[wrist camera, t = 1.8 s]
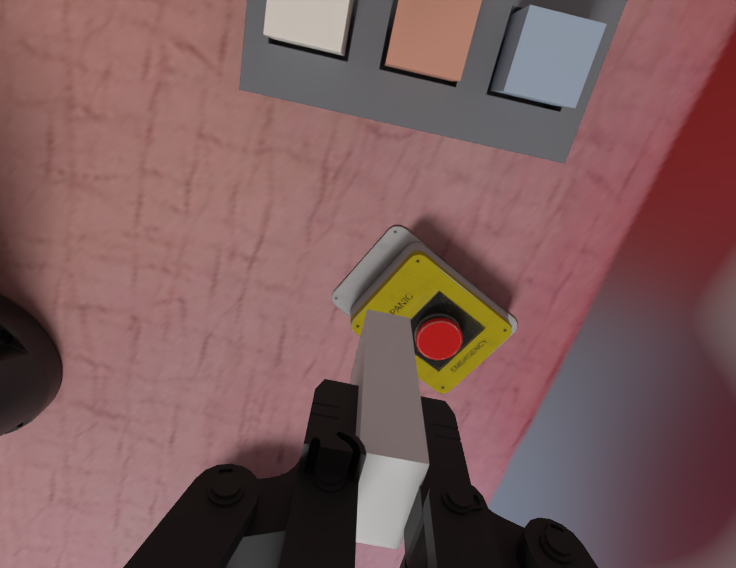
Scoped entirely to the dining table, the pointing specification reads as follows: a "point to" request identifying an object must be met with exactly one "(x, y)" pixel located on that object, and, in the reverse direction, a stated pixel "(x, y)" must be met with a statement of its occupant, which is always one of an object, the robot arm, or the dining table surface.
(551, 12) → the blue key
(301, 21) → the ivory key
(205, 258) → the dining table surface
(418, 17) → the orange key
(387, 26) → the key panel
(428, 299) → the emergency button
